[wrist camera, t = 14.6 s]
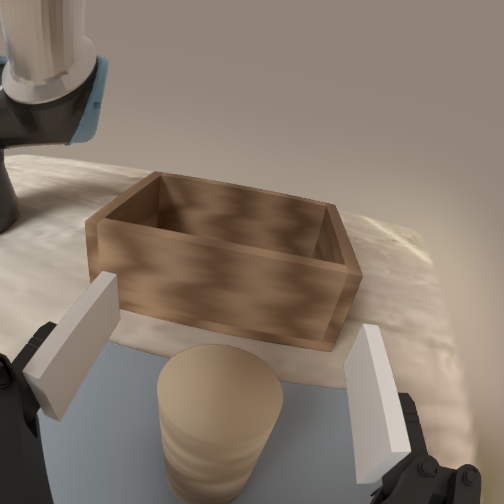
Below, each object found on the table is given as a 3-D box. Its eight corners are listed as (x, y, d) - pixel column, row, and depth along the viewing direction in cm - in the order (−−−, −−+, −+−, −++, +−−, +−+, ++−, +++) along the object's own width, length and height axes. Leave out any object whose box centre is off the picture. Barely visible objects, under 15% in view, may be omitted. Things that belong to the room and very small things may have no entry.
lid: (-8, 520, 8) (-120, 432, 3) (87, 346, 23) (68, 228, 18) (385, 602, 8) (522, 565, 3) (367, 402, 23) (429, 300, 18)
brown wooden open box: (92, 300, 27) (84, 221, 23) (151, 230, 41) (154, 171, 38) (330, 351, 27) (362, 276, 23) (318, 262, 41) (335, 204, 37)
